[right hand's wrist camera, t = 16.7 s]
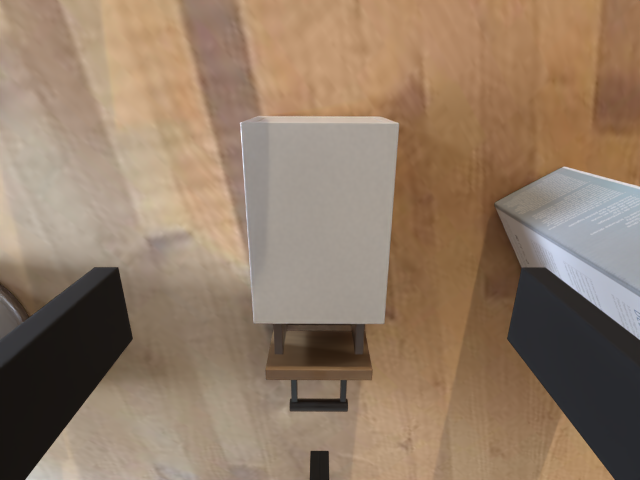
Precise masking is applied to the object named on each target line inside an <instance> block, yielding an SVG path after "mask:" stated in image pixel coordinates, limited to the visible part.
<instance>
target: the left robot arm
mask: <svg viewBox="0 0 640 480" xmlns="http://www.w3.org/2000/svg"><path fill="white" fill-rule="evenodd" d="M28 318H29V317H28V315H27V313H26V311H25V310H24V308H23V307H22V305H21V304H20V303H19V301H18V300H17V299H16V298H15V297H14V296H13V295H12V294H11V293H10V292H9V291H8V290H7V289H6V288H5V287H3V286H2V285H1V284H0V340H1V339H2V338H3V337H5V336H6V335H7V334H8V333H10V332H11V331H12V330H14V329H15V328H16V327H18V326H19V325H20V324H21V323H23V322H24V321H25V320H27V319H28ZM310 480H329V451H311V456H310Z"/></svg>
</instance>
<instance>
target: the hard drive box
mask: <svg viewBox="0 0 640 480" xmlns="http://www.w3.org/2000/svg"><path fill="white" fill-rule="evenodd" d="M494 205H495V208H496V210H497V212H498V215H499V217H500V219H501V221H502V223H503V226H504V229H505V231H506V233H507V235H508V238H509V240H510V242H511V244H512V246H513V249H514V251H515V253H516V256H517V258H518V261H519V263H520V265H521V267H546V268H547V269H548V270H549V271H551V272H552V273H553V274H555V275H556V276H557V277H559V278H560V279H561V280H563V281H564V282H565V283H566V284H568V285H569V286H570V287H572V288H573V289H574V290H576V291H577V292H578V293H579V294H581V295H582V296H583V297H585V298H586V299H587V300H589V301H590V302H591V303H592V304H594V305H595V306H596V307H598V308H599V309H600V310H602V311H603V312H604V313H606V314H607V315H608V316H609V317H611V318H612V319H613V320H615V321H616V322H617V323H619V324H620V325H621V326H622V327H624V328H625V329H626V330H628V331H629V332H630V333H632V334H633V335H634V336H635V337H637V338H638V339H639V340H640V187H639V186H635V185H632V184H628V183H624V182H620V181H617V180H613V179H609V178H606V177H602V176H598V175H594V174H591V173H587V172H583V171H579V170H576V169H572V168H568V167H562V168H560V169H558V170H556V171H554V172H552V173H550V174H548V175H546V176H544V177H542V178H540V179H539V180H537V181H535V182H533V183H531V184H529V185H527V186H525V187H523V188H521V189H519V190H517V191H515V192H513V193H512V194H510V195H508V196H506V197H504V198H502V199H501V200H499V201H497V202H495V204H494Z"/></svg>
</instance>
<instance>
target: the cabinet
mask: <svg viewBox="0 0 640 480" xmlns="http://www.w3.org/2000/svg"><path fill="white" fill-rule="evenodd" d="M240 124H241V138H242V153H243V168H244V183H245V198H246V213H247V228H248V243H249V258H250V273H251V288H252V303H253V318H254V324H384V321H385V308H386V294H387V281H388V267H389V254H390V240H391V227H392V214H393V200H394V187H395V173H396V160H397V146H398V133H399V123H397V122H394V121H391V120H389V119H386V118H383V117H378V116H258V117H254V118H252V119H249V120H246V121H243V122H241V123H240Z"/></svg>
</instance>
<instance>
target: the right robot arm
mask: <svg viewBox="0 0 640 480" xmlns="http://www.w3.org/2000/svg"><path fill="white" fill-rule="evenodd" d="M132 339H133V337H132V332H131V328H130V323H129V318H128V313H127V308H126V303H125V298H124V293H123V289H122V284H121V279H120V274H119V269H118V267H94V268H93V269H92V270H91V271H89V272H88V273H87V274H85V275H84V276H83V277H81V278H80V279H79V280H77V281H76V282H75V283H74V284H72V285H71V286H70V287H68V288H67V289H66V290H64V291H63V292H62V293H61V294H59V295H58V296H57V297H55V298H54V299H53V300H51V301H50V302H49V303H48V304H46V305H45V306H44V307H42V308H41V309H40V310H38V311H37V312H36V313H34V314H33V315H32V316H31V317H29V318H28V319H27V320H25V321H24V322H23V323H21V324H20V325H19V326H18V327H16V328H15V329H14V330H12V331H11V332H10V333H8V334H7V335H6V336H5V337H3V338H2V339H1V340H0V480H25V479H26V478H27V476H28V475H29V474H30V473H31V471H32V470H33V469H34V467H35V466H36V465H37V463H38V462H39V461H40V460H41V458H42V457H43V456H44V454H45V453H46V452H47V450H48V449H49V448H50V446H51V445H52V444H53V443H54V441H55V440H56V439H57V437H58V436H59V435H60V433H61V432H62V431H63V429H64V428H65V427H66V426H67V424H68V423H69V422H70V420H71V419H72V418H73V416H74V415H75V414H76V412H77V411H78V410H79V409H80V407H81V406H82V405H83V403H84V402H85V401H86V399H87V398H88V397H89V395H90V394H91V393H92V392H93V390H94V389H95V388H96V386H97V385H98V384H99V382H100V381H101V380H102V379H103V377H104V376H105V375H106V373H107V372H108V371H109V369H110V368H111V367H112V365H113V364H114V363H115V362H116V360H117V359H118V358H119V356H120V355H121V354H122V352H123V351H124V350H125V348H126V347H127V346H128V345H129V343H130V342H131V341H132ZM507 339H508V341H509V342H510V343H511V345H512V346H513V347H514V348H515V350H516V351H517V352H518V354H519V355H520V356H521V358H522V359H523V360H524V362H525V363H526V364H527V365H528V367H529V368H530V369H531V371H532V372H533V373H534V375H535V376H536V377H537V379H538V380H539V381H540V382H541V384H542V385H543V386H544V388H545V389H546V390H547V392H548V393H549V394H550V396H551V397H552V398H553V399H554V401H555V402H556V403H557V405H558V406H559V407H560V409H561V410H562V411H563V412H564V414H565V415H566V416H567V418H568V419H569V420H570V422H571V423H572V424H573V426H574V427H575V428H576V429H577V431H578V432H579V433H580V435H581V436H582V437H583V439H584V440H585V441H586V443H587V444H588V445H589V446H590V448H591V449H592V450H593V452H594V453H595V454H596V456H597V457H598V458H599V460H600V461H601V462H602V463H603V465H604V466H605V467H606V469H607V470H608V471H609V473H610V474H611V475H612V476H613V478H614V479H615V480H640V340H639V339H638V338H637V337H635V336H634V335H633V334H632V333H630V332H629V331H628V330H626V329H625V328H624V327H622V326H621V325H620V324H619V323H617V322H616V321H615V320H613V319H612V318H611V317H609V316H608V315H607V314H606V313H604V312H603V311H602V310H600V309H599V308H598V307H596V306H595V305H594V304H592V303H591V302H590V301H589V300H587V299H586V298H585V297H583V296H582V295H581V294H579V293H578V292H577V291H576V290H574V289H573V288H572V287H570V286H569V285H568V284H566V283H565V282H564V281H563V280H561V279H560V278H559V277H557V276H556V275H555V274H553V273H552V272H551V271H549V270H548V269H547V268H546V267H522V269H521V274H520V279H519V284H518V289H517V293H516V298H515V303H514V308H513V313H512V318H511V323H510V328H509V332H508V337H507Z"/></svg>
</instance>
